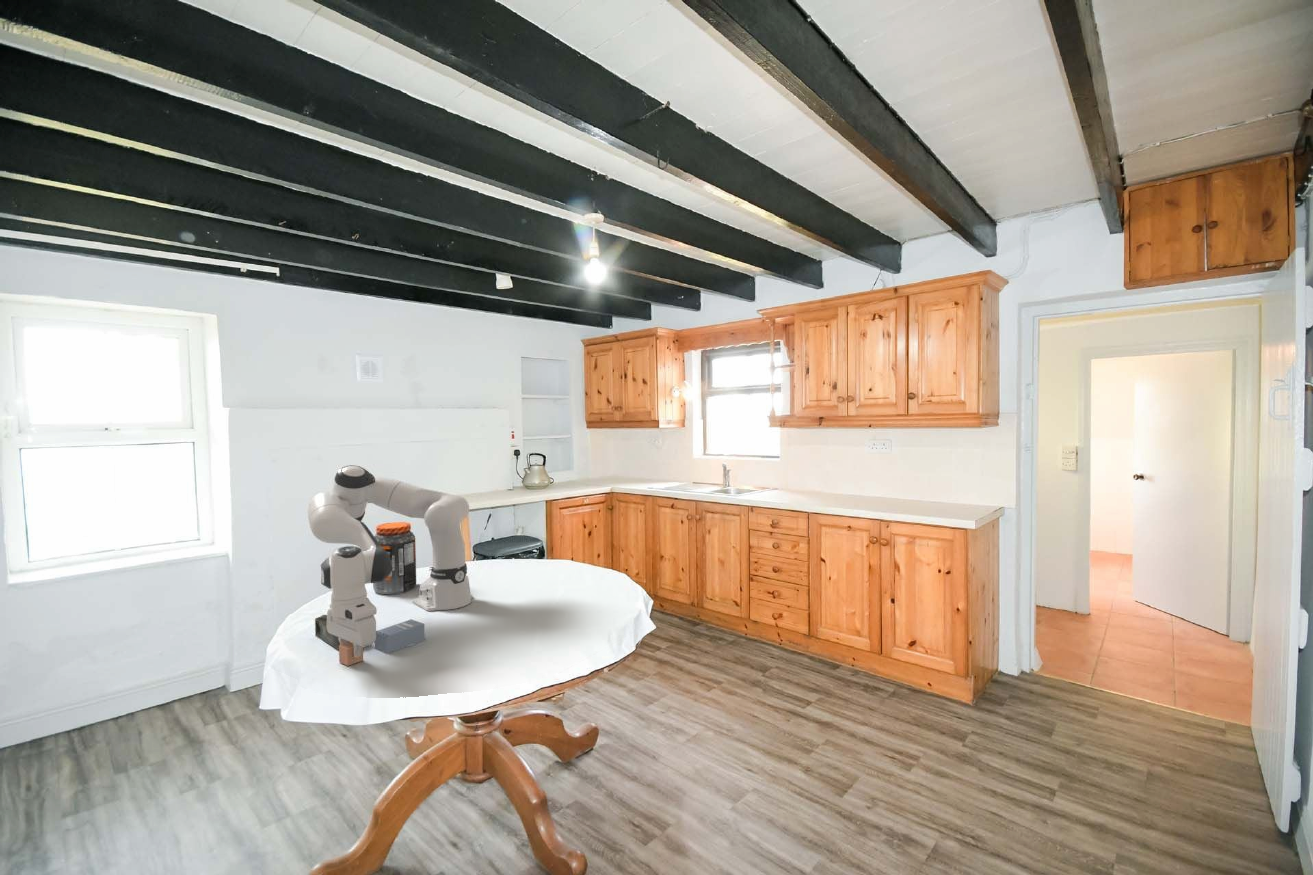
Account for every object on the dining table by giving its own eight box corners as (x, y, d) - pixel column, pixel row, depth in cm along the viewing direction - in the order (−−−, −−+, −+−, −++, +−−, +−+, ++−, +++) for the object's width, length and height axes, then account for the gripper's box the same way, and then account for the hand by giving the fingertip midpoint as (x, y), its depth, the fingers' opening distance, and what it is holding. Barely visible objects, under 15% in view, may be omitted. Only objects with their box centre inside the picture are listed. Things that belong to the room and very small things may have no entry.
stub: (339, 662, 159) (338, 644, 159) (355, 656, 162) (354, 639, 162) (347, 665, 156) (346, 648, 156) (363, 659, 160) (362, 642, 160)
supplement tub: (365, 590, 224) (363, 525, 223) (403, 581, 237) (401, 519, 236) (386, 598, 215) (384, 530, 214) (424, 587, 227) (422, 523, 226)
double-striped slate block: (374, 648, 169) (374, 631, 168) (411, 634, 178) (411, 618, 178) (387, 653, 165) (387, 636, 164) (424, 639, 175) (424, 623, 174)
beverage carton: (341, 628, 185) (340, 609, 185) (367, 644, 172) (366, 622, 172) (314, 636, 179) (313, 615, 178) (339, 652, 166) (338, 630, 166)
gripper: (319, 602, 162) (321, 649, 163) (357, 616, 151) (358, 667, 151) (341, 596, 167) (343, 642, 168) (380, 609, 156) (381, 658, 156)
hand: (351, 654), depth 159 cm, fingers closed on stub, 4 cm apart
